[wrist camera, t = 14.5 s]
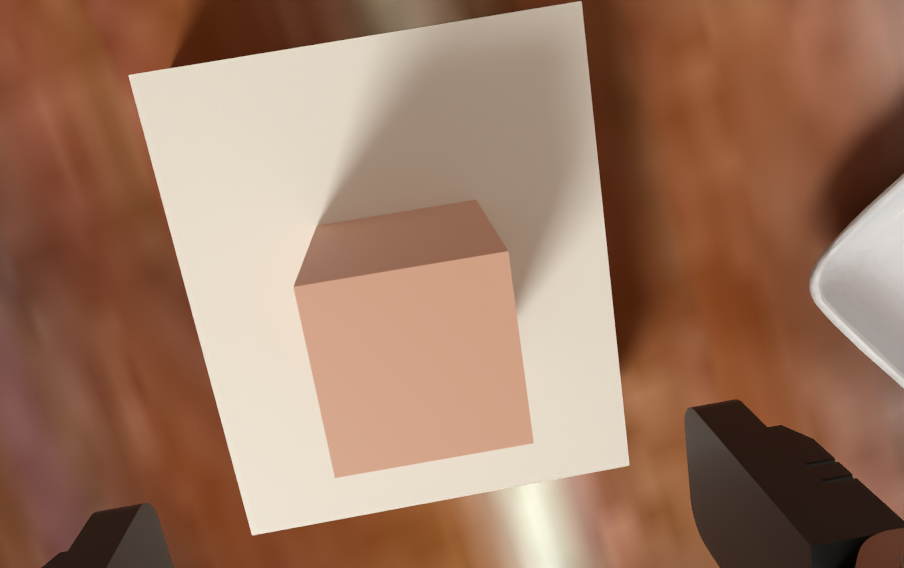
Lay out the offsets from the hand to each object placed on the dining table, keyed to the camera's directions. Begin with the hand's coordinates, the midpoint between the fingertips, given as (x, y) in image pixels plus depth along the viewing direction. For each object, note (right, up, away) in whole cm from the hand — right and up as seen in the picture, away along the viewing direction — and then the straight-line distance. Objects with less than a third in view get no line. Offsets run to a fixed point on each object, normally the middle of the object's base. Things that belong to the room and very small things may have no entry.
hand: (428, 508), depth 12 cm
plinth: (-1, +4, +15) cm, 15 cm away
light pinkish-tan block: (-1, +3, +11) cm, 11 cm away
